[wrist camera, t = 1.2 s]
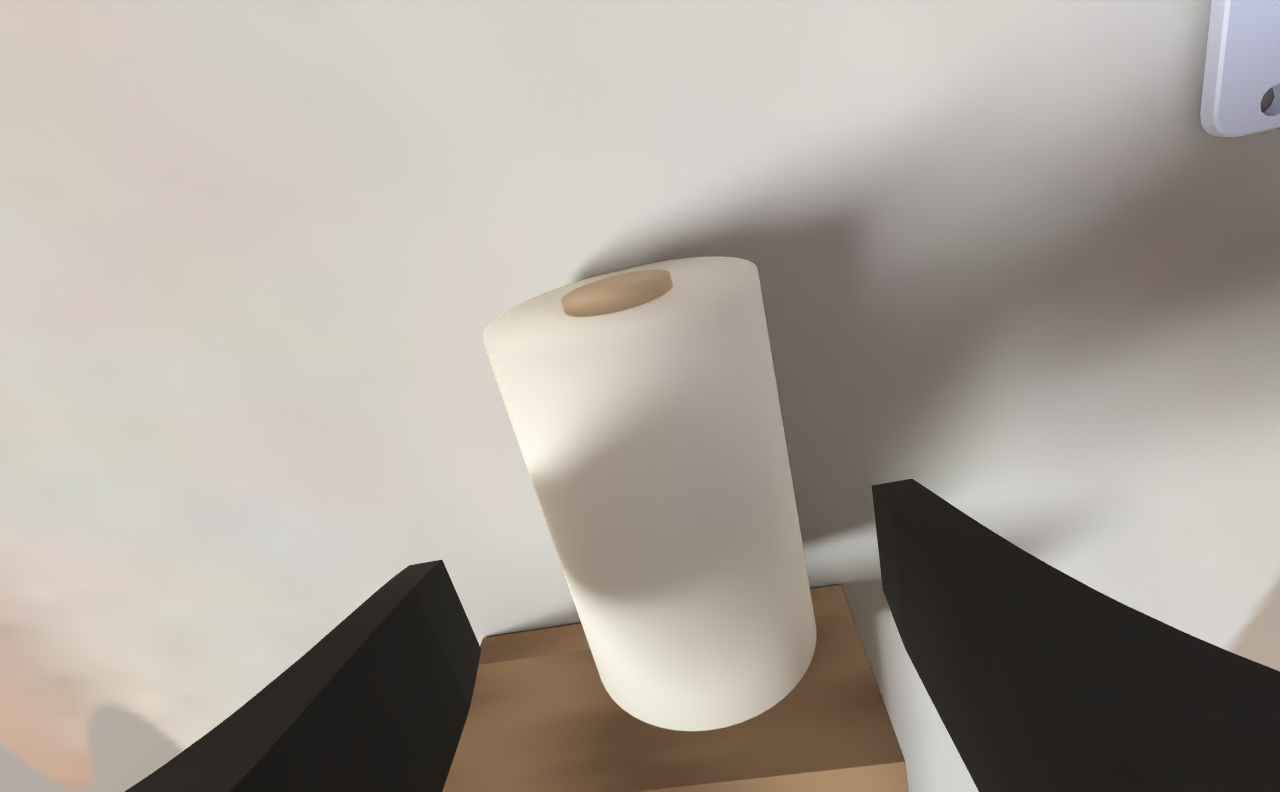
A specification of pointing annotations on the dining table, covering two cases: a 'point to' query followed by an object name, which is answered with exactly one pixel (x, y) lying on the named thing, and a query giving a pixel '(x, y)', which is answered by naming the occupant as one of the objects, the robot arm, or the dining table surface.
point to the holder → (663, 758)
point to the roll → (665, 483)
